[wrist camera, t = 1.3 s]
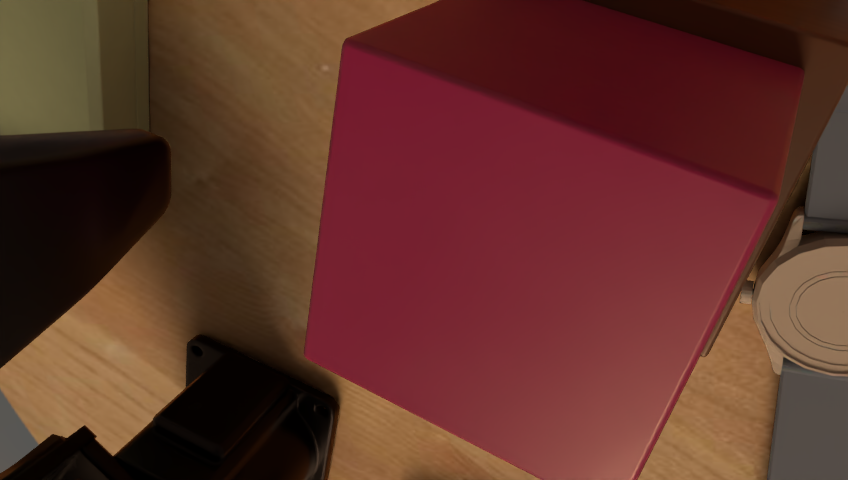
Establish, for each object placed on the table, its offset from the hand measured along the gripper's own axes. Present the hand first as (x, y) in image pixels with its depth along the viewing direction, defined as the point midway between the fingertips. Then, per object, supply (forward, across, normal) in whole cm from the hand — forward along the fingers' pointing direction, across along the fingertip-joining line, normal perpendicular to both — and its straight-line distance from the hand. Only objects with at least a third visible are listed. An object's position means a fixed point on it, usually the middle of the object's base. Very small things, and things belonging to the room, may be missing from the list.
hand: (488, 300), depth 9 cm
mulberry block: (+6, 0, 0) cm, 6 cm away
